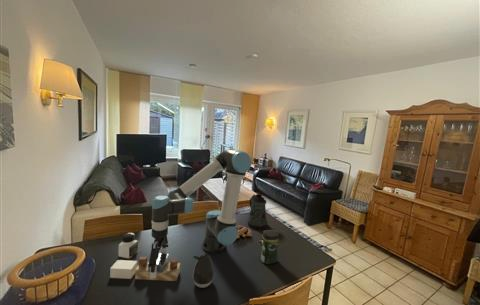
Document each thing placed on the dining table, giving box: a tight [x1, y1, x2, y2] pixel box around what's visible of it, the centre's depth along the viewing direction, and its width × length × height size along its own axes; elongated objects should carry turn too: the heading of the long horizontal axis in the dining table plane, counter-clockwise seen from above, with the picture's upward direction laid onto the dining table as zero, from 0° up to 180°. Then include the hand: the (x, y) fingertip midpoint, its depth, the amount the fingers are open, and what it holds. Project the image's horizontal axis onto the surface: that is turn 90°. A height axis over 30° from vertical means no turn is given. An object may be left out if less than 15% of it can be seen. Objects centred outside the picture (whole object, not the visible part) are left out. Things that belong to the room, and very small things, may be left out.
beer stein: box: [246, 193, 268, 230], centre depth 169 cm, size 16×19×25 cm
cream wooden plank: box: [134, 256, 181, 282], centre depth 104 cm, size 20×6×9 cm, turn 92°
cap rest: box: [109, 259, 138, 280], centre depth 103 cm, size 10×6×5 cm, turn 92°
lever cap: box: [148, 252, 170, 273], centre depth 103 cm, size 7×9×5 cm
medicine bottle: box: [118, 232, 139, 259], centre depth 119 cm, size 7×7×12 cm
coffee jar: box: [260, 229, 280, 265], centre depth 122 cm, size 10×8×19 cm
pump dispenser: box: [192, 252, 215, 289], centre depth 100 cm, size 10×10×15 cm
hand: (158, 267), depth 104 cm, fingers open, 13 cm apart
